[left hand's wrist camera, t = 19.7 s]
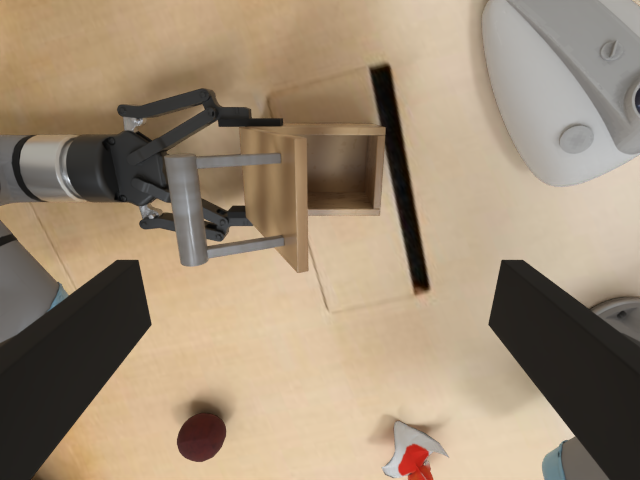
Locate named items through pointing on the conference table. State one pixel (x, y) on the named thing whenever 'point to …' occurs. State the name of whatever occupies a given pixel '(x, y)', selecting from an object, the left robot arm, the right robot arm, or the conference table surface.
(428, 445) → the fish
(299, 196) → the lid
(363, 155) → the chest
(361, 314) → the conference table surface
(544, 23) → the projector
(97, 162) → the right robot arm
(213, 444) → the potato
